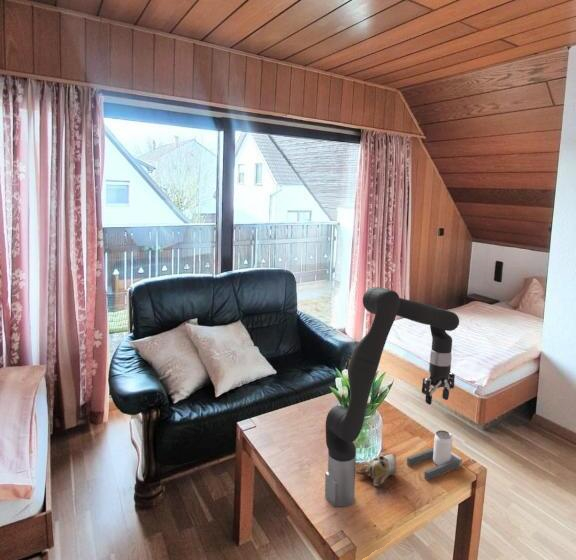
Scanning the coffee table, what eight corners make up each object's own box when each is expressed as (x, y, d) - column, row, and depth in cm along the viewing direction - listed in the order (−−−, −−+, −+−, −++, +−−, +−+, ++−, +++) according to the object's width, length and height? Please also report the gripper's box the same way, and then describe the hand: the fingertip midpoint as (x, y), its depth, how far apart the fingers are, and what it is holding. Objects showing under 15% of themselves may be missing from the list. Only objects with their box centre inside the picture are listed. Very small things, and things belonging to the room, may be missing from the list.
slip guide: (426, 480, 158) (427, 473, 157) (406, 464, 167) (407, 457, 166) (461, 465, 166) (462, 458, 165) (440, 451, 175) (441, 444, 174)
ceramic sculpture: (405, 457, 157) (375, 473, 150) (405, 477, 159) (375, 494, 152) (384, 443, 166) (354, 458, 158) (384, 462, 168) (355, 478, 160)
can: (431, 464, 167) (433, 436, 164) (434, 455, 173) (436, 428, 170) (449, 469, 164) (451, 440, 162) (451, 459, 170) (453, 432, 167)
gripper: (433, 368, 155) (430, 409, 158) (462, 361, 161) (458, 401, 165) (418, 361, 162) (415, 401, 165) (446, 355, 168) (443, 393, 171)
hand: (436, 401), depth 165 cm, fingers open, 8 cm apart
